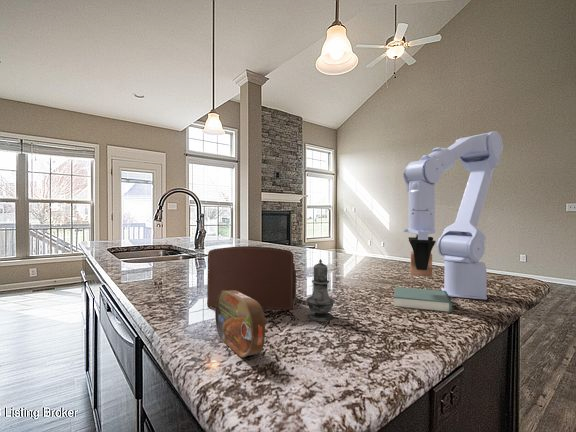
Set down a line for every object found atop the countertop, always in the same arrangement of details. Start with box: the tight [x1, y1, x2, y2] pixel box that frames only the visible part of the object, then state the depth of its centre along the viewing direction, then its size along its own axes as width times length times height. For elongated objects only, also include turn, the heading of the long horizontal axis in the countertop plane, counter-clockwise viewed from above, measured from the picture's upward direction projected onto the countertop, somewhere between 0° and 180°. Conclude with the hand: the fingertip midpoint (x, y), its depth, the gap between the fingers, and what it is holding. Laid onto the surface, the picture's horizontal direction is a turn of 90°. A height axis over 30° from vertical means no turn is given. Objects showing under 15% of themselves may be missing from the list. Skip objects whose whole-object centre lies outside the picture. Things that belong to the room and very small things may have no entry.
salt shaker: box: [305, 259, 335, 323], centre depth 64 cm, size 6×6×12 cm
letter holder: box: [206, 245, 297, 311], centre depth 75 cm, size 10×20×14 cm, turn 85°
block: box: [410, 250, 433, 277], centre depth 74 cm, size 4×4×5 cm
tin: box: [214, 291, 267, 358], centre depth 51 cm, size 15×3×8 cm, turn 32°
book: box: [393, 286, 453, 313], centre depth 74 cm, size 12×10×2 cm
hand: (420, 267), depth 74 cm, fingers closed on block, 4 cm apart
